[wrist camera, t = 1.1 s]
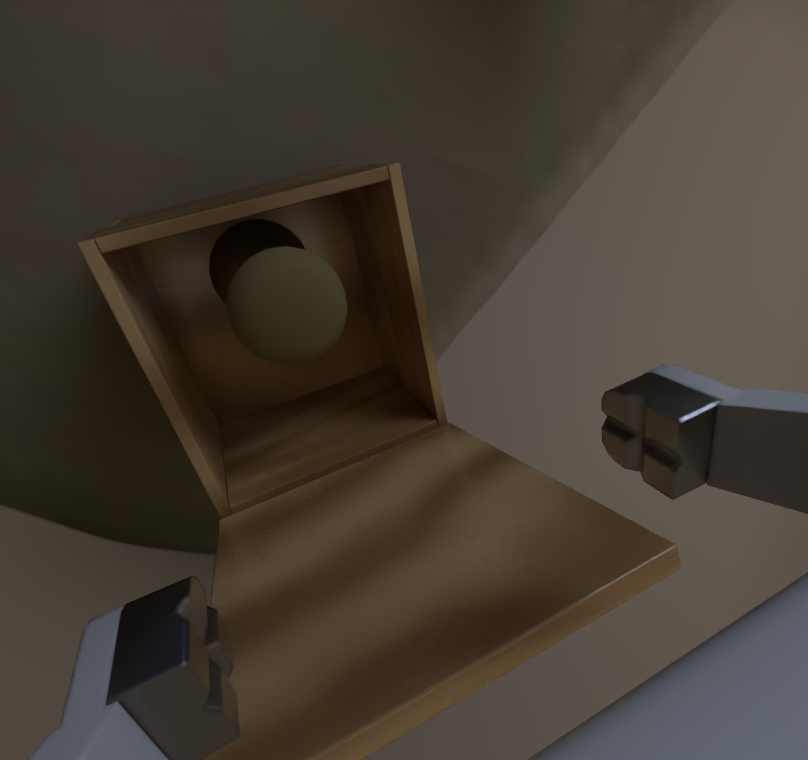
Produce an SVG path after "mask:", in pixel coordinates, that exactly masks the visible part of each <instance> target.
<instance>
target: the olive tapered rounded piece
mask: <svg viewBox="0 0 808 760" xmlns="http://www.w3.org/2000/svg"><path fill="white" fill-rule="evenodd" d="M209 273H210V277H211V281H212V285H213V287H214V289H215V291H216V292H217V294H218V295H219V297H220V298H221V300H222V301H223V302H224V303H225V304H226V305H227V311H228V315H229V319H230V324H231V328H232V330H233V331H234V333H235V334H236V336H237V337H238V339H239V340H240V342H241V344H242V345H244V346H245V347H246V348H247V349H248V350H250V351H251V352H252V353H253V354H255V355H256V356H258V357H260V358H262V359H265V360H267V361H270V362H273V363H275V364H285V365H296V364H301V363H305V362H310V361H312V360H314V359H315V358H317V357H319V356H321V355H323V354H324V353H326V352H327V351H328V350H329V349H330V348H331V347H332V346H333V345H334V344H335V343H336V342H337V340H338V338H339V336H340V334H341V332H342V330H343V329H344V327H345V322H346V316H347V311H348V309H347V301H346V294H345V289H344V287H343V285H342V283H341V281H340V279H339V276H338V274H337V273H336V272H335V271H334V270H333V269H332V268H331V266H330V265H329V264H328V263H327V262H326V261H325V260H323V259H322V258H320V257H318V256H316V255H314V254H312V253H311V252H309V251H307V250H306V249H305V247H304V245H303V243H302V242H301V240H300V239H299V238H298V237H297V236H296V235H295V234H294V233H293V232H292V231H291V230H290V229H288V228H286V227H284V226H282V225H281V224H279V223H277V222H273V221H268V220H264V219H253V220H245V221H241V222H239V223H237V224H235V225H233V226H231V227H229V228H228V229H227V230H226V231H225V232H224V233H223V234H222V235H221V236H220V237H219V238H218V239H217V240H216V243H215V245H214V247H213V249H212V251H211V254H210V262H209Z"/></svg>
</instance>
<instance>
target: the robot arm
mask: <svg viewBox="0 0 808 760" xmlns="http://www.w3.org/2000/svg"><path fill="white" fill-rule="evenodd" d="M602 411H603V412H604V413H605V414H606V415H607V418H606V420H605V423H604V424H603V426H602V442H603V444H604V446H605V448H606V450H607V452H608V454H609V455H610V456H611V457H612V459H613V460H614V461H615V462H617V463H618V464H619V465H621V466H622V467H624V468H625V469H630V470H635V471H640V472H641V475H642V478H643V481H645V482H646V483H648V484H649V485H651V486H652V487H654V488H655V489H657V490H658V491H660V492H661V493H663V494H664V495H666V496H667V497H669V498H670V499H672V500H673V499H676V498H678V497H679V496H681V495H683V494H685V493H687V492H689V491H691V490H693V489H695V488H697V487H699V486H701V485H703V484H705V483H707V485H709V486H712V487H716V488H719V489H723V490H726V491H730V492H733V493H737V494H740V495H744V496H747V497H751V498H754V499H758V500H761V501H765V502H769V503H772V504H775V505H779V506H782V507H786V508H789V509H793V510H796V511H800V512H803V513H807V514H808V393H798V392H785V391H771V390H758V389H748V390H746V391H744V392H743V391H741V390H738V389H736V388H733V387H730V386H728V385H725V384H722V383H720V382H717V381H714V380H712V379H709V378H707V377H704V376H701V375H698V374H696V373H694V372H691V371H688V370H686V369H683V368H681V367H678V366H675V365H666V364H665V365H664V364H663V365H661V366H659V367H657V368H655V369H653V370H651V371H649V372H646V373H645V374H643V375H641V376H639V377H637V378H635V379H632V380H630V381H628V382H626V383H624V384H621V385H619V386H617V387H615V388H613V389H610V390H608V391H606V392H605V393H604V395H603V398H602ZM233 669H234V658H233V650H232V645H231V641H230V637H229V633H228V630H227V628H226V626H225V623H224V621H223V619H222V617H221V615H220V613H219V612H218V610H217V609H215V608H212V607H209V606H207V599H206V590H205V588H204V587H203V586H202V584H201V583H200V581H199V579H198V578H197V577H194V576H191V577H188V578H186V579H184V580H181V581H179V582H177V583H174V584H172V585H169V586H167V587H165V588H162V589H160V590H158V591H155V592H153V593H150V594H148V595H146V596H144V597H141V598H139V599H136V600H134V601H131V602H129V603H127V604H126V605H124V606H121V607H119V608H116V609H114V610H112V611H109V612H107V613H105V614H102V615H100V616H98V617H95V618H93V619H91V620H90V621H89V622H88V624H87V625H86V626H85V627H84V630H83V633H82V637H81V641H80V645H79V649H78V653H77V658H76V661H75V666H74V670H73V674H72V678H71V682H70V686H69V690H68V694H67V698H66V702H65V706H64V710H63V715H62V719H61V723H60V727H59V730H57V731H55V732H53V733H51V734H49V735H48V736H46V737H45V739H44V740H43V741H42V743H41V744H40V745H39V747H38V748H37V749H36V751H35V752H34V753H33V755H32V756H31V757H30V759H29V760H202V759H203V758H205V757H207V756H208V755H210V754H212V753H214V752H215V751H217V750H219V749H220V748H222V747H224V746H226V745H227V744H229V743H231V742H233V741H234V740H236V739H238V738H239V737H240V728H239V716H238V703H237V693H236V692H235V690H234V688H233V687H232V685H231V684H230V682H229V681H228V679H229V677H230V675H231V673H232V671H233ZM528 760H808V573H806V574H805V575H803V576H802V577H800V578H799V579H797V580H796V581H794V582H793V583H791V584H790V585H788V586H787V587H785V588H784V589H782V590H781V591H779V592H778V593H776V594H775V595H773V596H772V597H770V598H769V599H767V600H766V601H764V602H763V603H761V604H760V605H758V606H757V607H755V608H754V609H752V610H751V611H749V612H748V613H746V614H745V615H743V616H742V617H740V618H739V619H737V620H736V621H734V622H733V623H731V624H730V625H728V626H727V627H725V628H724V629H722V630H721V631H719V632H718V633H716V634H715V635H714V636H712V637H710V638H709V639H707V640H706V641H704V642H703V643H701V644H700V645H698V646H697V647H696V648H694V649H692V650H691V651H689V652H688V653H686V654H685V655H683V656H682V657H680V658H679V659H677V660H676V661H674V662H673V663H671V664H670V665H668V666H667V667H665V668H664V669H663V670H661V671H660V672H658V673H656V674H655V675H653V676H652V677H650V678H649V679H647V680H646V681H645V682H643V683H642V684H640V685H639V686H637V687H636V688H634V689H632V690H631V691H629V692H628V693H626V694H625V695H624V696H622V697H620V698H619V699H618V700H616V701H615V702H613V703H611V704H610V705H608V706H607V707H605V708H604V709H602V710H601V711H600V712H598V713H597V714H595V715H594V716H592V717H591V718H589V719H588V720H586V721H585V722H583V723H582V724H580V725H579V726H577V727H576V728H574V729H573V730H571V731H570V732H568V733H567V734H565V735H564V736H562V737H561V738H559V739H558V740H557V741H555V742H553V743H552V744H550V745H549V746H547V747H546V748H544V749H543V750H541V751H540V752H538V753H537V754H535V755H534V756H532V757H531V758H529V759H528Z"/></svg>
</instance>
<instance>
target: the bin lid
mask: <svg viewBox="0 0 808 760" xmlns="http://www.w3.org/2000/svg"><path fill="white" fill-rule="evenodd" d="M680 566H681V565H680V559H679V554H678V548H677V546H676V545H675V544H674V543H672V542H670V541H668V540H667V539H665V538H662V537H661V536H659V535H657V534H655V533H654V532H651V531H650V530H648V529H646V528H644V527H642V526H640V525H639V524H637V523H635V522H633V521H631V520H629V519H627V518H625V517H624V516H622V515H620V514H618V513H616V512H614V511H613V510H611V509H608V508H607V507H605V506H603V505H601V504H600V503H598V502H596V501H594V500H592V499H590V498H588V497H587V496H585V495H583V494H581V493H579V492H577V491H575V490H573V489H572V488H570V487H568V486H566V485H564V484H562V483H560V482H559V481H557V480H555V479H553V478H551V477H549V476H547V475H546V474H544V473H542V472H540V471H538V470H536V469H534V468H533V467H531V466H528V465H527V464H525V463H523V462H521V461H520V460H518V459H516V458H514V457H512V456H510V455H508V454H507V453H504V452H503V451H501V450H499V449H497V448H495V447H494V446H492V445H489V444H488V443H486V442H484V441H482V440H480V439H479V438H477V437H475V436H473V435H471V434H469V433H467V432H466V431H464V430H462V429H460V428H458V427H456V426H454V425H453V424H451V423H450V424H447V425H444V426H442V427H440V428H437V429H435V430H433V431H430V432H428V433H425V434H423V435H421V436H418V437H416V438H414V439H411V440H409V441H406V442H404V443H402V444H399V445H397V446H395V447H392V448H390V449H388V450H385V451H383V452H380V453H378V454H376V455H373V456H371V457H369V458H366V459H364V460H361V461H359V462H357V463H354V464H352V465H350V466H347V467H345V468H342V469H340V470H338V471H335V472H333V473H331V474H328V475H326V476H323V477H321V478H319V479H316V480H314V481H312V482H309V483H307V484H305V485H302V486H300V487H297V488H295V489H293V490H290V491H288V492H286V493H283V494H281V495H278V496H276V497H274V498H271V499H269V500H267V501H264V502H262V503H259V504H257V505H255V506H252V507H250V508H248V509H245V510H243V511H241V512H238V513H236V514H233V515H231V516H229V517H226V518H224V519H222V520H220V522H219V531H218V540H217V549H216V558H215V568H214V576H213V585H212V594H211V603H210V607H212V608H215V609H217V610H218V612H219V613H220V615H221V617H222V619H223V621H224V623H225V626H226V628H227V630H228V633H229V637H230V641H231V645H232V650H233V658H234V669H233V671H232V673H231V675H230V677H229V679H228V681H229V682H230V684H231V685H232V687H233V688H234V690H235V692H236V693H237V703H238V716H239V728H240V737H239V738H238V739H236V740H234V741H233V742H231V743H229V744H227V745H226V746H224V747H222V748H220V749H219V750H217V751H215V752H214V753H212V754H210V755H208V756H207V757H205V758H203V759H202V760H363V759H364V758H366V757H368V756H369V755H371V754H373V753H374V752H376V751H378V750H379V749H381V748H383V747H384V746H386V745H388V744H389V743H391V742H393V741H394V740H396V739H398V738H399V737H401V736H403V735H404V734H406V733H408V732H409V731H411V730H412V729H414V728H416V727H417V726H419V725H421V724H422V723H424V722H426V721H427V720H429V719H431V718H432V717H434V716H436V715H437V714H439V713H441V712H442V711H444V710H446V709H447V708H449V707H451V706H452V705H454V704H456V703H457V702H459V701H461V700H462V699H464V698H466V697H467V696H469V695H471V694H472V693H474V692H475V691H477V690H479V689H481V688H482V687H484V686H486V685H487V684H489V683H491V682H492V681H494V680H495V679H497V678H499V677H500V676H502V675H504V674H505V673H507V672H509V671H510V670H512V669H514V668H515V667H517V666H519V665H520V664H522V663H523V662H525V661H527V660H529V659H530V658H532V657H534V656H535V655H537V654H538V653H540V652H542V651H544V650H545V649H547V648H549V647H550V646H552V645H554V644H555V643H557V642H558V641H560V640H562V639H564V638H565V637H567V636H569V635H570V634H572V633H573V632H575V631H577V630H579V629H580V628H582V627H584V626H585V625H587V624H588V623H590V622H592V621H593V620H595V619H597V618H598V617H600V616H602V615H603V614H605V613H607V612H608V611H610V610H611V609H613V608H615V607H617V606H618V605H620V604H622V603H623V602H625V601H626V600H628V599H630V598H632V597H633V596H635V595H636V594H638V593H640V592H642V591H643V590H645V589H647V588H648V587H650V586H652V585H653V584H655V583H657V582H658V581H660V580H662V579H663V578H665V577H667V576H668V575H670V574H671V573H673V572H675V571H676V570H678V569H679V568H680Z"/></svg>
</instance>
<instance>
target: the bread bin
mask: <svg viewBox="0 0 808 760" xmlns="http://www.w3.org/2000/svg"><path fill="white" fill-rule="evenodd" d="M253 219H264V220H268V221H273V222H277V223H279V224H281V225H282V226H284V227H286V228H288V229H290V230H291V231H292V232H293V233H294V234H295V235H296V236H297V237H298V238H299V239H300V240H301V242H302V243H303V245H304V247H305V249H306V250H307V251H309V252H311V253H312V254H314V255H316V256H318V257H320V258H322V259H323V260H325V261H326V262H327V263H328V264H329V265H330V266H331V268H332V269H333V270H334V271H335V272H336V273H337V274H338V276H339V279H340V281H341V283H342V285H343V287H344V289H345V294H346V301H347V309H348V311H347V316H346V322H345V327H344V329H343V330H342V332H341V334H340V336H339V338H338V340H337V342H336V343H335V344H334V345H333V346H332V347H331V348H330V349H329V350H328V351H327V352H326V353H324V354H323V355H321V356H319V357H317V358H315V359H314V360H312V361H310V362H305V363H301V364H296V365H285V364H275V363H273V362H270V361H267V360H265V359H262V358H260V357H258V356H256V355H255V354H253V353H252V352H251V351H250V350H248V349H247V348H246V347H245V346H244V345H242V344H241V342H240V340H239V339H238V337H237V336H236V334H235V333H234V331H233V330H232V328H231V324H230V319H229V315H228V311H227V305H226V304H225V303H224V302H223V301H222V300H221V298H220V297H219V295H218V294H217V292H216V291H215V289H214V287H213V285H212V281H211V277H210V273H209V262H210V254H211V251H212V249H213V247H214V245H215V243H216V240H217V239H218V238H219V237H220V236H221V235H222V234H223V233H224V232H225V231H226V230H227V229H228V228H229V227H231V226H233V225H235V224H237V223H239V222H241V221H245V220H253ZM77 246H78V248H79V250H80V251H81V253H82V255H83V257H84V259H85V261H86V263H87V265H88V267H89V269H90V271H91V272H92V274H93V276H94V278H95V280H96V282H97V284H98V286H99V288H100V290H101V292H102V293H103V295H104V297H105V299H106V301H107V303H108V305H109V307H110V309H111V311H112V312H113V314H114V316H115V318H116V320H117V322H118V324H119V326H120V328H121V330H122V332H123V333H124V335H125V337H126V339H127V341H128V343H129V345H130V347H131V349H132V351H133V353H134V354H135V356H136V358H137V360H138V362H139V364H140V366H141V368H142V370H143V372H144V373H145V375H146V377H147V379H148V381H149V383H150V385H151V387H152V389H153V391H154V393H155V394H156V396H157V398H158V400H159V402H160V404H161V406H162V408H163V410H164V412H165V414H166V415H167V417H168V419H169V421H170V423H171V425H172V427H173V429H174V431H175V433H176V435H177V436H178V438H179V440H180V442H181V444H182V446H183V448H184V450H185V452H186V454H187V455H188V457H189V459H190V461H191V463H192V465H193V467H194V469H195V471H196V473H197V475H198V476H199V478H200V480H201V482H202V484H203V486H204V488H205V490H206V492H207V494H208V496H209V497H210V499H211V501H212V503H213V505H214V507H215V509H216V511H217V513H218V515H219V516H220V518H221V520H222V519H224V518H226V517H229V516H231V515H233V514H236V513H238V512H241V511H243V510H245V509H248V508H250V507H252V506H255V505H257V504H259V503H262V502H264V501H267V500H269V499H271V498H274V497H276V496H278V495H281V494H283V493H286V492H288V491H290V490H293V489H295V488H297V487H300V486H302V485H305V484H307V483H309V482H312V481H314V480H316V479H319V478H321V477H323V476H326V475H328V474H331V473H333V472H335V471H338V470H340V469H342V468H345V467H347V466H350V465H352V464H354V463H357V462H359V461H361V460H364V459H366V458H369V457H371V456H373V455H376V454H378V453H380V452H383V451H385V450H388V449H390V448H392V447H395V446H397V445H399V444H402V443H404V442H406V441H409V440H411V439H414V438H416V437H418V436H421V435H423V434H425V433H428V432H430V431H433V430H435V429H437V428H440V427H442V426H444V425H447V424H448V423H447V418H446V413H445V407H444V401H443V396H442V391H441V385H440V380H439V374H438V369H437V363H436V358H435V353H434V347H433V342H432V336H431V331H430V326H429V320H428V315H427V309H426V304H425V298H424V293H423V288H422V282H421V277H420V271H419V266H418V261H417V255H416V250H415V244H414V239H413V233H412V228H411V223H410V217H409V212H408V206H407V201H406V195H405V190H404V185H403V179H402V174H401V168H400V164H399V163H386V164H367V165H348V166H338V167H334V168H329V169H325V170H321V171H317V172H313V173H309V174H305V175H300V176H296V177H292V178H288V179H284V180H280V181H276V182H271V183H267V184H263V185H259V186H255V187H251V188H247V189H242V190H238V191H234V192H230V193H226V194H222V195H218V196H213V197H209V198H205V199H201V200H197V201H193V202H189V203H184V204H180V205H176V206H172V207H168V208H164V209H160V210H155V211H151V212H147V213H143V214H139V215H135V216H131V217H126V218H122V219H118V220H114V221H112V222H110V223H109V224H107V225H106V226H104V227H102V228H101V229H99V230H97V231H96V232H94V233H92V234H91V235H89V236H87V237H86V238H84V239H82V240H81V241H79V242H78V243H77Z"/></svg>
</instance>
